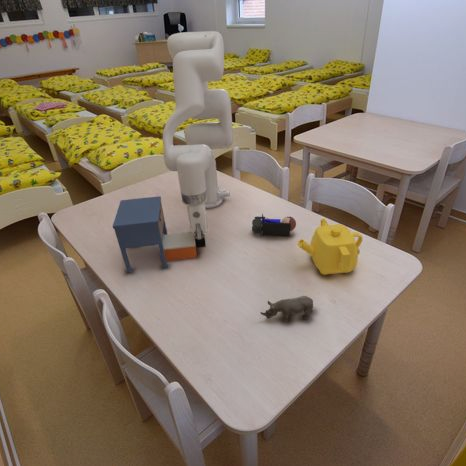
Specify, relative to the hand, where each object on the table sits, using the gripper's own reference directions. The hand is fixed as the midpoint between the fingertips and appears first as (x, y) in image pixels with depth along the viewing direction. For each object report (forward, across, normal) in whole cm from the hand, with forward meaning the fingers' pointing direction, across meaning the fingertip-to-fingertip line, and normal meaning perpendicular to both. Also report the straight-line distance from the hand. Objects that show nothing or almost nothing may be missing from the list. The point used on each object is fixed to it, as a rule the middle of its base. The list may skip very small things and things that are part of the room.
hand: (200, 245), depth 109 cm
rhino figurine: (+2, -33, -20) cm, 39 cm away
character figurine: (+2, +4, -25) cm, 25 cm away
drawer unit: (+2, 0, +17) cm, 17 cm away
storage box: (+2, 0, +7) cm, 7 cm away
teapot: (+2, -15, -37) cm, 40 cm away
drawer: (-8, 0, +16) cm, 18 cm away
